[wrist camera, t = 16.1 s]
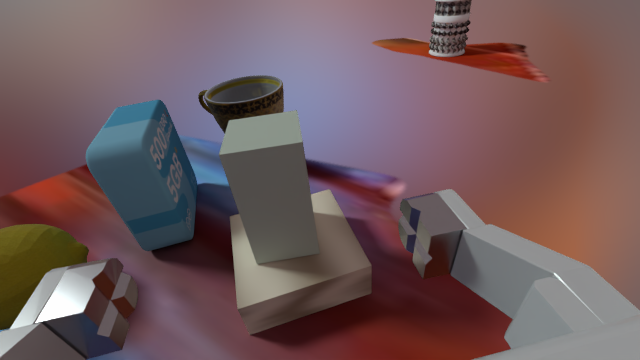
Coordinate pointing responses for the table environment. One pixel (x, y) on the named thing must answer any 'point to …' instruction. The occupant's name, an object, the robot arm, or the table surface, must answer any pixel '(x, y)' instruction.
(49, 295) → the robot arm
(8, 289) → the lemon
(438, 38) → the decorative candle
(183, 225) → the blue rounded box
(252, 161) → the sage block
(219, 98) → the ceramic cup
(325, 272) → the birch block
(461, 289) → the table surface
